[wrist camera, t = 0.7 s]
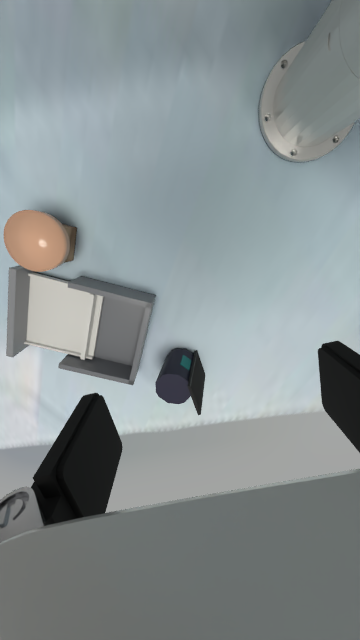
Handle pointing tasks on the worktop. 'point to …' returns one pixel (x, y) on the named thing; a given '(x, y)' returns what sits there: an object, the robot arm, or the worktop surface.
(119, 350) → the housing
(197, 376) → the speaker
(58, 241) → the tan domed disc
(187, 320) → the worktop surface
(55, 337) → the tray
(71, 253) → the brown wooden cube
